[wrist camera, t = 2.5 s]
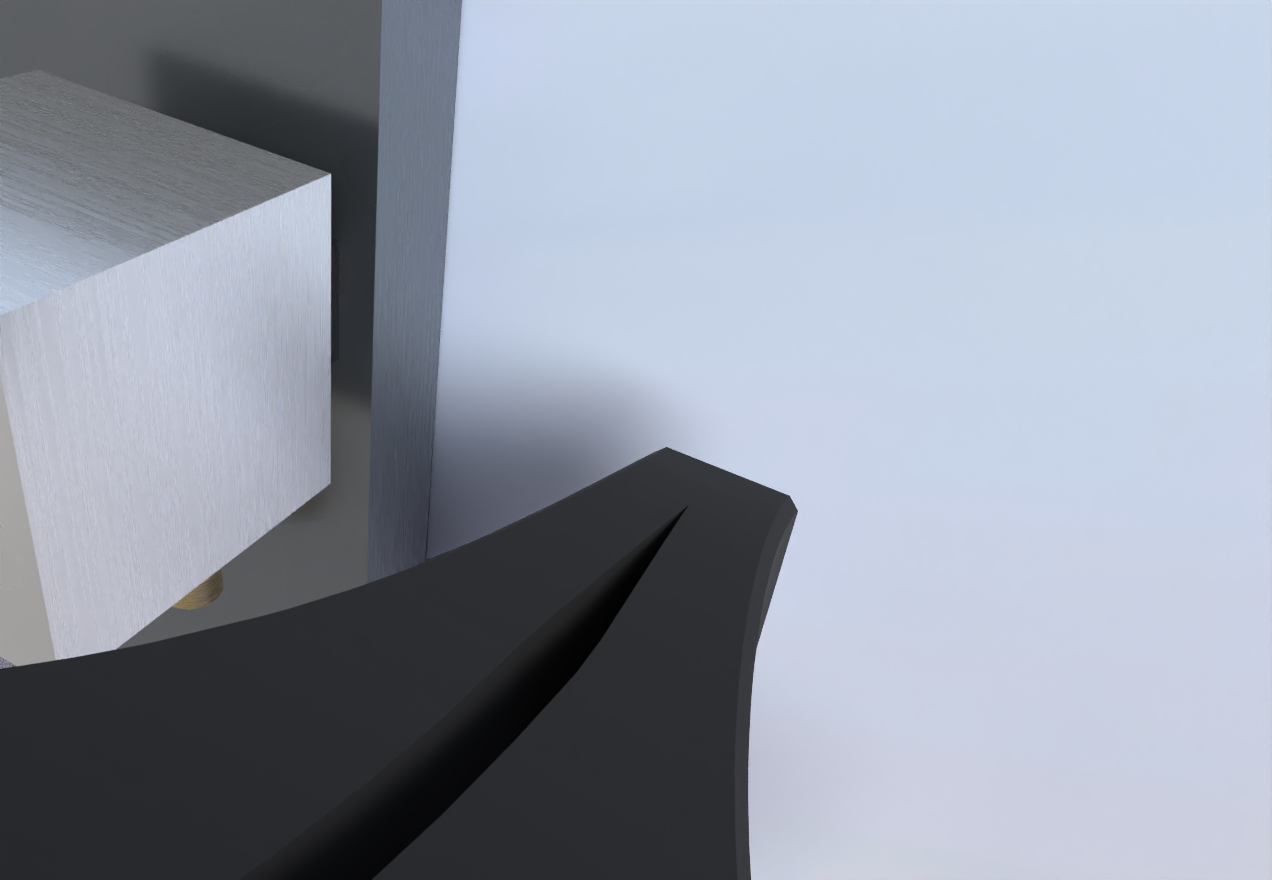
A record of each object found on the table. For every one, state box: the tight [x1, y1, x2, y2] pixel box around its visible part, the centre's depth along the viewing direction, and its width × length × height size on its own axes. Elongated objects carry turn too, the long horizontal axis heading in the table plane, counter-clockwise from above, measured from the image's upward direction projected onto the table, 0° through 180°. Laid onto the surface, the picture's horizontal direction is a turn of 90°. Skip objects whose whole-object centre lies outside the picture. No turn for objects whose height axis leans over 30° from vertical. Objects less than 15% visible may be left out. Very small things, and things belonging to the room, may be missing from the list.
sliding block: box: [0, 70, 331, 666], centre depth 12 cm, size 6×4×4 cm, turn 170°
